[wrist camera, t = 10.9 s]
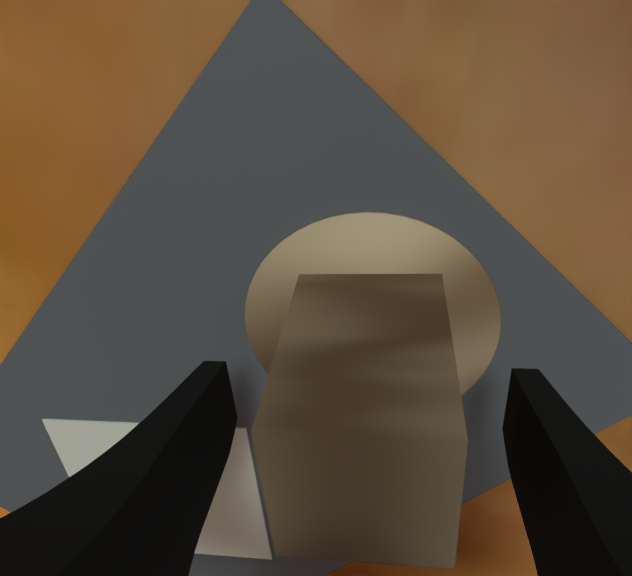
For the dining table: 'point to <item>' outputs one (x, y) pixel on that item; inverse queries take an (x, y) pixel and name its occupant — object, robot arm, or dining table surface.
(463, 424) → the walnut block
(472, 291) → the cork coaster
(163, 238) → the charcoal mat
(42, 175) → the dining table surface
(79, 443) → the card
